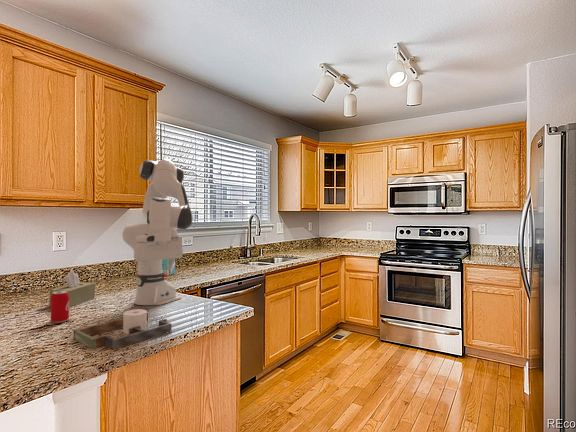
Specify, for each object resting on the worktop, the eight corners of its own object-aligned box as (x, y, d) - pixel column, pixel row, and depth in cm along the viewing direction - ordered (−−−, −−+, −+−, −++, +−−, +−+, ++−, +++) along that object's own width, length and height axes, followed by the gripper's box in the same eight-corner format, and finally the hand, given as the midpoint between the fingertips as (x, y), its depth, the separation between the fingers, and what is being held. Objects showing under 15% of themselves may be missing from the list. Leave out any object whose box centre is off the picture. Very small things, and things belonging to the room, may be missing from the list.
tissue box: (77, 297, 182) (77, 267, 181) (95, 298, 180) (95, 267, 180) (48, 307, 163) (49, 273, 163) (68, 308, 162) (68, 274, 162)
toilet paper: (140, 323, 142) (140, 306, 142) (149, 331, 133) (149, 313, 133) (118, 327, 137) (118, 309, 137) (126, 335, 128) (126, 316, 128)
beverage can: (72, 319, 146) (72, 290, 146) (63, 323, 140) (63, 293, 140) (56, 318, 146) (57, 290, 146) (47, 323, 140) (47, 293, 139)
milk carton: (163, 272, 257) (164, 238, 256) (175, 273, 255) (175, 238, 255) (157, 274, 248) (157, 239, 247) (169, 275, 246) (170, 239, 246)
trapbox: (146, 319, 146) (146, 312, 146) (176, 330, 134) (176, 322, 134) (73, 338, 124) (73, 330, 124) (101, 353, 112) (101, 343, 112)
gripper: (177, 235, 154) (177, 267, 154) (132, 237, 138) (131, 272, 138) (186, 236, 150) (185, 268, 150) (140, 237, 135) (139, 274, 134)
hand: (159, 270), depth 144 cm, fingers open, 8 cm apart
